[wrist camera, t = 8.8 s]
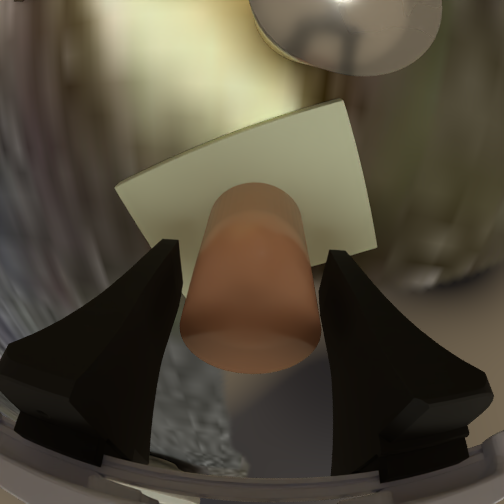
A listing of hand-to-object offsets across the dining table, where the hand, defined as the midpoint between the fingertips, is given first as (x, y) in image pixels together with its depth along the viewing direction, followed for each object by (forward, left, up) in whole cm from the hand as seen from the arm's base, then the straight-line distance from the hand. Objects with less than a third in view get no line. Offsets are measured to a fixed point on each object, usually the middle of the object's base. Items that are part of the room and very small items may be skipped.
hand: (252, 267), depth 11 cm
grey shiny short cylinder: (+5, +8, -3) cm, 10 cm away
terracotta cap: (0, 0, -3) cm, 3 cm away
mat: (0, 0, -3) cm, 3 cm away
